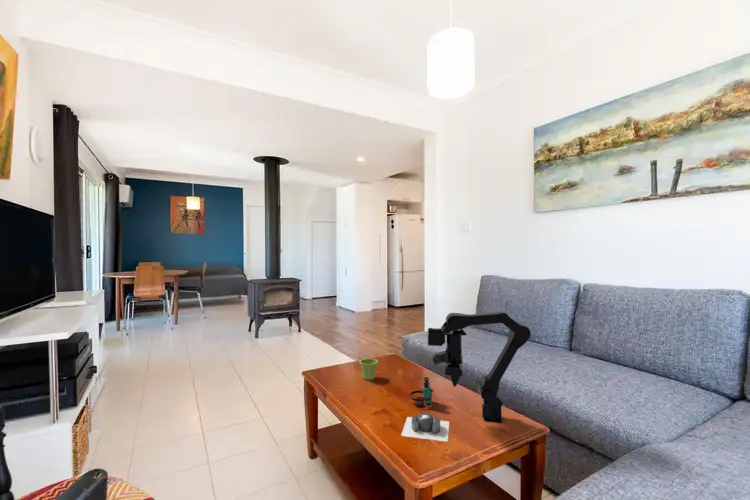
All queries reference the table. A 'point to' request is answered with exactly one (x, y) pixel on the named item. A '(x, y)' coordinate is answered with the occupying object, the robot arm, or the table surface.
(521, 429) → the table surface
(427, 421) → the grey cylinder white dome
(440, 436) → the mat
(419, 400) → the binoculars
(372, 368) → the plant pot
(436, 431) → the curved wall segments
